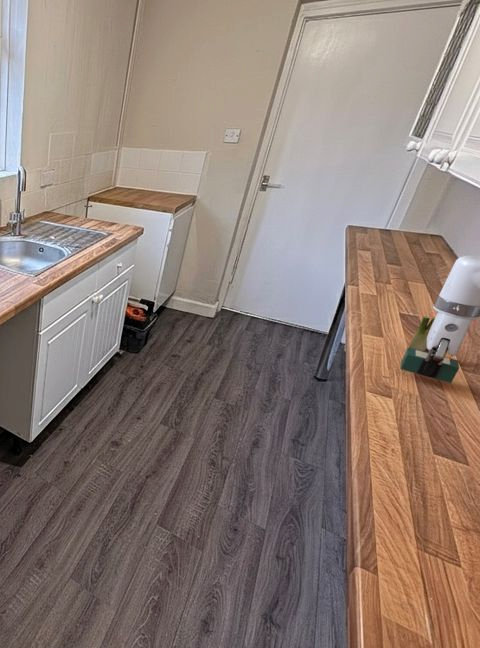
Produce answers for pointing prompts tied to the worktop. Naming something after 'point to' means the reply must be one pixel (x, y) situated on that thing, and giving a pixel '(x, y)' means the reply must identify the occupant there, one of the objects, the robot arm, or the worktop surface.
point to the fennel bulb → (421, 335)
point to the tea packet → (416, 357)
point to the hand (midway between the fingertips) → (425, 370)
